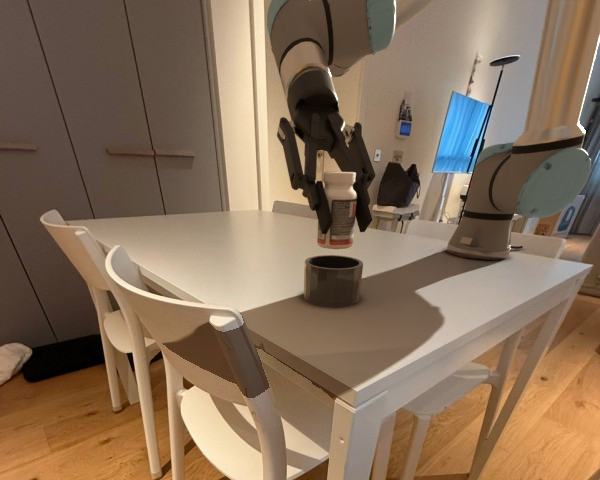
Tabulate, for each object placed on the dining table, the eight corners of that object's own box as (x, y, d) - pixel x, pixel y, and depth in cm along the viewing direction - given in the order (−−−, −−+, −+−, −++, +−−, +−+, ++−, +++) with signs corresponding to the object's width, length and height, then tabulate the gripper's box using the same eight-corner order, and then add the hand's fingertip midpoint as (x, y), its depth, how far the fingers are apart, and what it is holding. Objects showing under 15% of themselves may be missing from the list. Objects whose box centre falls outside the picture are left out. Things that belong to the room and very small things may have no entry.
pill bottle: (356, 244, 55) (364, 172, 50) (345, 251, 51) (353, 173, 45) (324, 241, 57) (328, 171, 51) (311, 247, 53) (314, 171, 47)
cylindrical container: (349, 288, 64) (352, 254, 60) (366, 305, 56) (371, 268, 52) (299, 290, 62) (300, 255, 59) (310, 308, 54) (311, 270, 51)
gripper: (352, 120, 59) (388, 240, 56) (248, 113, 53) (281, 246, 50) (372, 73, 51) (414, 207, 49) (254, 59, 46) (293, 210, 43)
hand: (347, 226), depth 49 cm, fingers closed on pill bottle, 6 cm apart
